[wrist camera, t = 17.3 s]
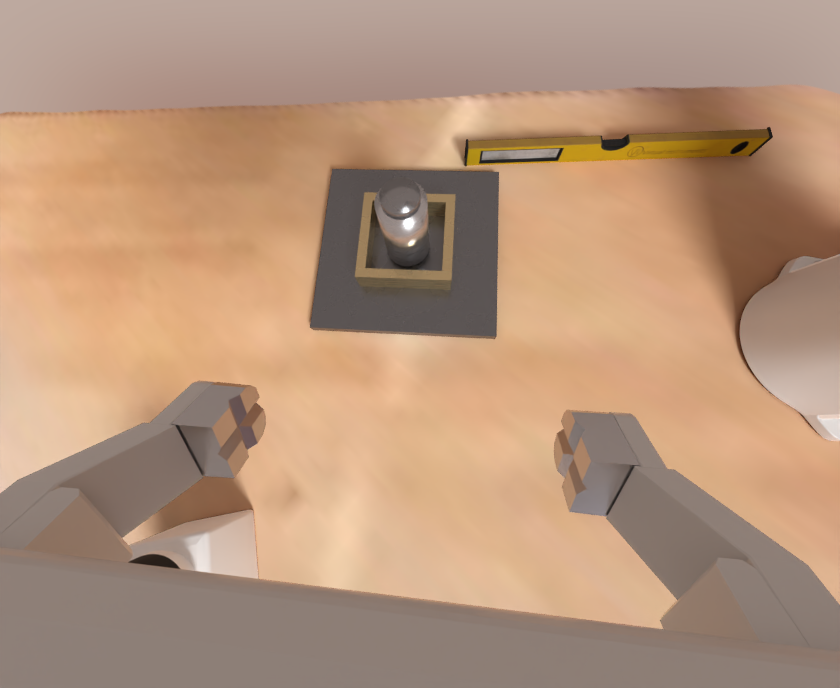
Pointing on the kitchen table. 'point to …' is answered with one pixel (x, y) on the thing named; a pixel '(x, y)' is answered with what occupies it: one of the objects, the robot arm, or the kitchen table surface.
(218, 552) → the medicine bottle
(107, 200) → the kitchen table surface
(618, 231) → the kitchen table surface
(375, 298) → the collar plate
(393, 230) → the domed metal canister
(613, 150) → the spirit level
